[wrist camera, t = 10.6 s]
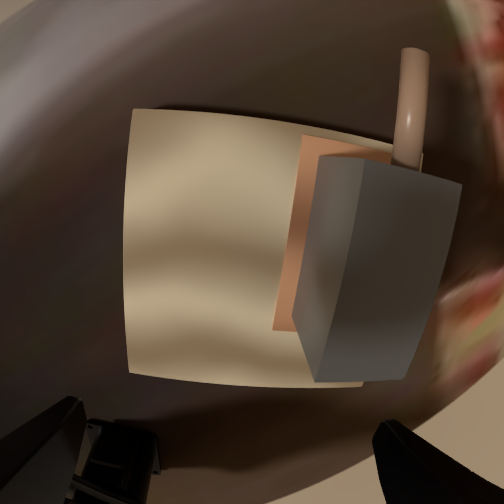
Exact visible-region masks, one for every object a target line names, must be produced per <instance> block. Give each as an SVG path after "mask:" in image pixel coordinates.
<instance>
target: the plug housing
mask: <svg viewBox="0 0 504 504" xmlns="http://www.w3.org/2000/svg"><path fill="white" fill-rule="evenodd" d="M428 82H429V54H428V53H426V52H425V51H423V50H420V49H416V48H404V49H402V50H401V66H400V82H399V95H398V107H397V117H396V126H395V134H394V142H393V150H392V157H391V164H386V163H382V162H378V161H373V160H369V159H364V158H350V157H334V156H319V160H318V167H317V173H316V180H315V187H314V193H313V199H312V206H311V212H310V218H309V224H308V230H307V236H306V241H305V247H304V253H303V258H302V264H301V269H300V275H299V280H298V285H297V290H296V296H295V301H294V306H293V311H292V319H293V322H294V325H295V327H296V330H297V333H298V336H299V339H300V342H301V345H302V348H303V351H304V353H305V356H306V359H307V362H308V365H309V368H310V371H311V374H312V377H313V380H314V383H328V382H365V381H383V380H398V379H404V377H405V375H406V373H407V370H408V368H409V366H410V363H411V361H412V359H413V356H414V354H415V351H416V349H417V346H418V344H419V341H420V339H421V336H422V334H423V331H424V328H425V325H426V323H427V320H428V317H429V314H430V311H431V308H432V305H433V302H434V299H435V296H436V293H437V290H438V287H439V283H440V280H441V277H442V273H443V270H444V266H445V263H446V259H447V255H448V251H449V247H450V243H451V239H452V235H453V231H454V226H455V222H456V217H457V212H458V207H459V202H460V196H461V191H462V185H463V184H459V183H456V182H453V181H450V180H446V179H443V178H439V177H436V176H432V175H429V174H425V173H422V172H419V170H420V164H421V157H422V149H423V141H424V132H425V122H426V112H427V99H428Z"/></svg>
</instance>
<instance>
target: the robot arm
mask: <svg viewBox="0 0 504 504" xmlns="http://www.w3.org/2000/svg"><path fill="white" fill-rule="evenodd" d="M85 428H86V431H87V434H88V437H89V440H90V443H91V446H92V447H91V450H90V452H89V455H88V458H87V461H86V463H85V466H84V469H83V471H82V474H81V477H80V476H78V475H76V474H74V471H75V468H76V465H77V461H78V457H79V453H80V448H81V444H82V440H83V436H84V432H85ZM372 445H373V450H374V455H375V459H376V465H377V470H378V475H379V480H380V484H381V487H382V491H383V494H384V497H385V500H386V504H504V489H502V488H500V487H498V486H496V485H495V484H492V483H491V482H489V481H487V480H485V479H484V478H482V477H480V476H479V475H477V474H476V473H474V472H471V471H470V470H469V469H468V468H466V467H465V466H463V465H462V464H460V463H458V462H457V461H455V460H454V459H452V458H451V457H449V456H448V455H446V454H445V453H443V452H442V451H440V450H439V449H437V448H436V447H434V446H433V445H431V444H430V443H428V442H427V441H426V440H424V439H423V438H421V437H420V436H418V435H417V434H415V433H414V432H412V431H411V430H410V429H408V428H407V427H405V426H404V425H402V424H401V423H400V422H398V421H397V420H395V419H388V420H383V421H382V422H381V423H380V425H379V427H378V429H377V430H376V432H375V434H374V436H373V439H372ZM160 473H161V466H160V459H159V451H158V442H157V436H156V435H155V434H153V433H149V432H143V431H137V430H132V429H127V428H122V427H117V426H112V425H108V424H103V423H99V422H95V421H91V420H87V418H86V414H85V409H84V405H83V402H82V400H81V399H80V398H77V397H73V396H67V397H66V398H64V399H62V400H61V401H59V402H58V403H56V404H55V405H53V406H52V407H50V408H48V409H47V410H45V411H44V412H42V413H41V414H39V415H37V416H36V417H34V418H33V419H31V420H30V421H28V422H26V423H25V424H23V425H22V426H20V427H18V428H17V429H15V430H14V431H12V432H10V433H9V434H7V435H6V436H4V437H2V438H1V439H0V504H146V501H147V495H148V490H149V484H150V479H151V474H153V475H160ZM66 496H67V497H69V498H71V499H72V500H71V499H68V498H66Z"/></svg>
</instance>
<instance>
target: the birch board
mask: <svg viewBox="0 0 504 504" xmlns="http://www.w3.org/2000/svg"><path fill="white" fill-rule="evenodd" d="M392 150H393V145H392V144H388V143H384V142H380V141H376V140H372V139H368V138H364V137H360V136H355V135H351V134H346V133H342V132H337V131H332V130H327V129H322V128H317V127H312V126H306V125H300V124H295V123H288V122H282V121H276V120H269V119H262V118H254V117H246V116H238V115H228V114H219V113H207V112H195V111H180V110H159V109H133V113H132V121H131V129H130V138H129V148H128V158H127V171H126V185H125V202H124V230H123V283H124V311H125V328H126V342H127V354H128V365H129V372H131V373H136V374H143V375H149V376H156V377H163V378H170V379H178V380H186V381H195V382H204V383H215V384H227V385H241V386H258V387H284V388H338V387H362V385H363V382H328V383H314V380H313V377H312V374H311V371H310V368H309V365H308V362H307V359H306V356H305V353H304V351H303V348H302V345H301V342H300V339H299V336H298V333H297V330H296V327H295V325H294V322H293V319H292V311H293V306H294V301H295V296H296V290H297V285H298V280H299V275H300V269H301V264H302V258H303V253H304V247H305V241H306V236H307V230H308V224H309V218H310V212H311V206H312V199H313V193H314V187H315V180H316V173H317V167H318V160H319V156H334V157H350V158H364V159H369V160H373V161H378V162H382V163H386V164H391V157H392ZM422 159H423V153H422V157H421V164H420V170H419V172H421V166H422Z"/></svg>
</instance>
